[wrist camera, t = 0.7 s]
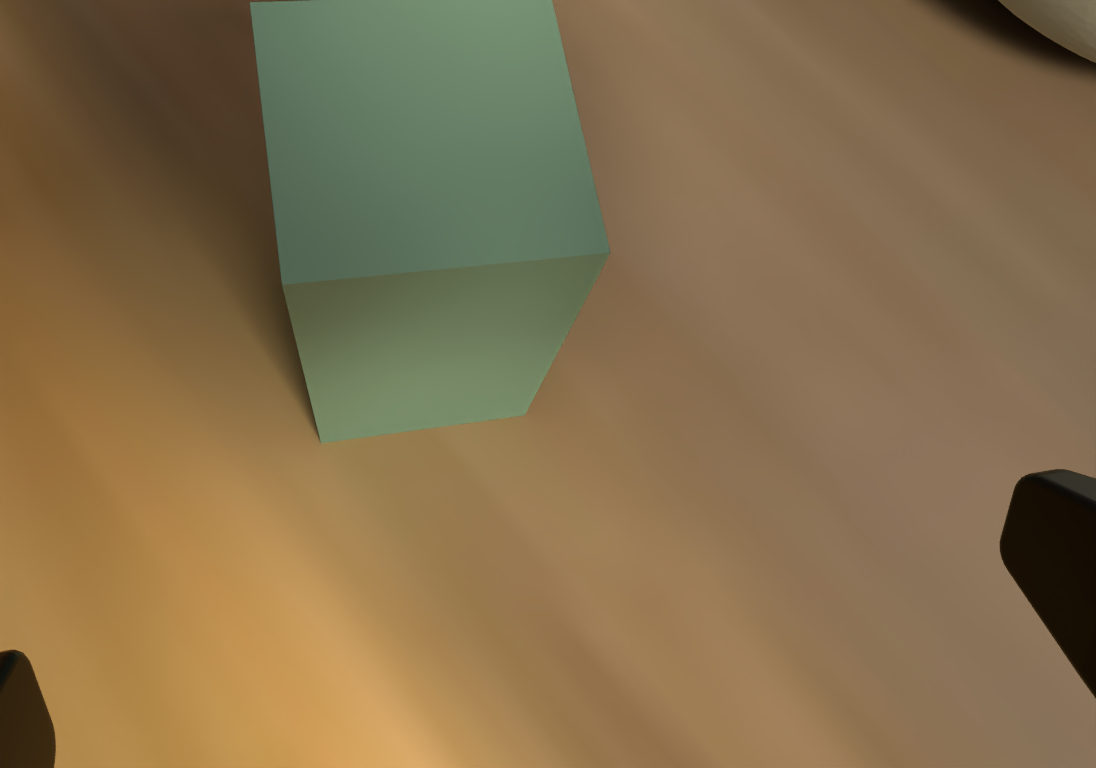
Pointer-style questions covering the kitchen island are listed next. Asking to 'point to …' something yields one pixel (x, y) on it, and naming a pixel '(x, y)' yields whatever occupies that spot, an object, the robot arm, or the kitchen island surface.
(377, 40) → the teal block
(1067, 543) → the robot arm
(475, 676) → the kitchen island surface
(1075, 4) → the serving bowl
